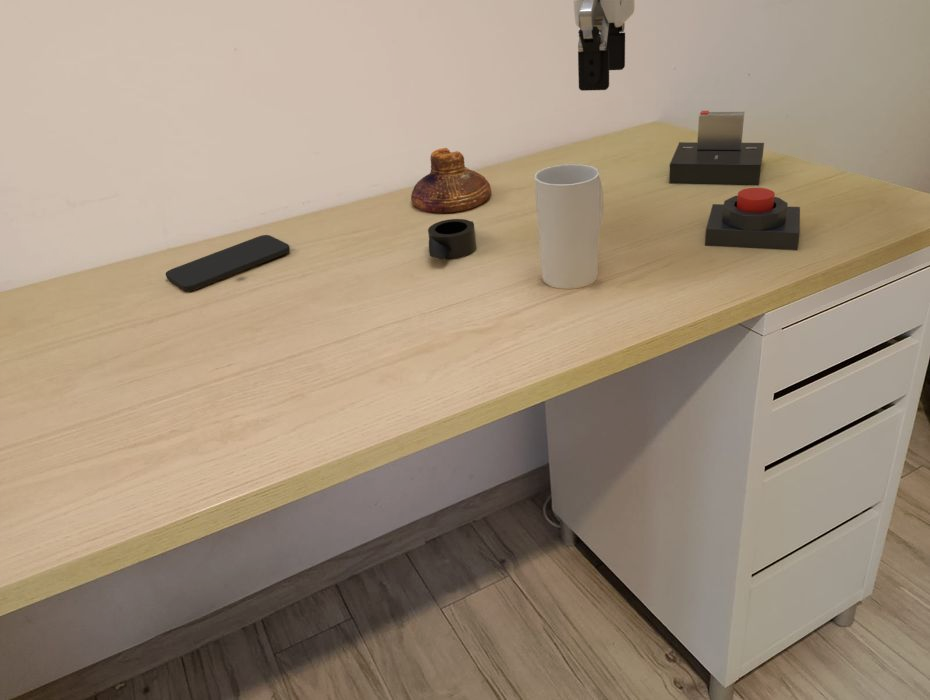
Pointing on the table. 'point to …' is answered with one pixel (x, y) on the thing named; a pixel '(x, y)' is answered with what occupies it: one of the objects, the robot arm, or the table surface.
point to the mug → (569, 224)
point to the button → (755, 200)
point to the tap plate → (716, 165)
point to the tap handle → (720, 130)
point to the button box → (753, 226)
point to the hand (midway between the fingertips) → (602, 79)
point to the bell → (450, 185)
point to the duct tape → (452, 239)
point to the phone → (226, 262)
